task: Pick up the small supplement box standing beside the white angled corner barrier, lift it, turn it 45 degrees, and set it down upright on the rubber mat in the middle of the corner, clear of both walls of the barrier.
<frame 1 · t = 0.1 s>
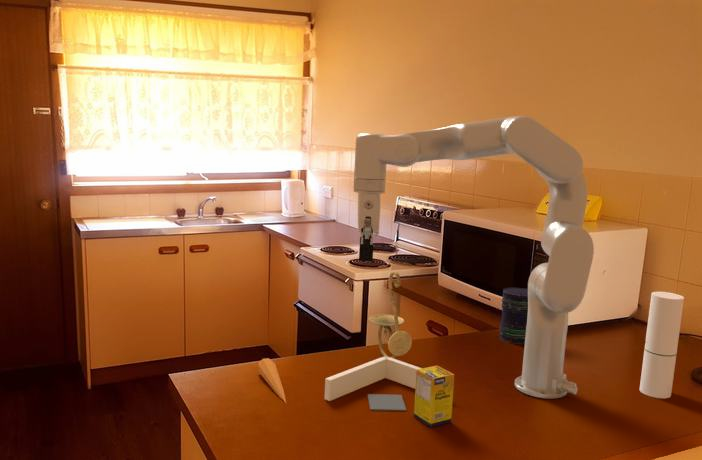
hand: (365, 256, 155), 31 cm above the countertop, tool pointing down, fingers open, 9 cm apart
supplement box: (432, 420, 140), on the countertop
storage jar: (515, 339, 197), on the countertop
cylindrical container: (654, 393, 160), on the countertop
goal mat: (386, 402, 147), on the countertop
carrot: (273, 388, 153), on the countertop
white angled corner barrier: (385, 397, 150), on the countertop
wall sconce: (387, 360, 174), on the countertop
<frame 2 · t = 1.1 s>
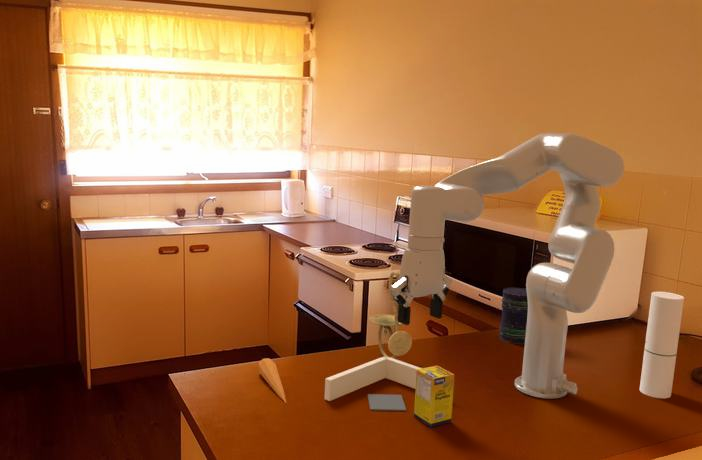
hand: (419, 320, 141), 21 cm above the countertop, tool pointing down, fingers open, 9 cm apart
nothing on the countertop moved.
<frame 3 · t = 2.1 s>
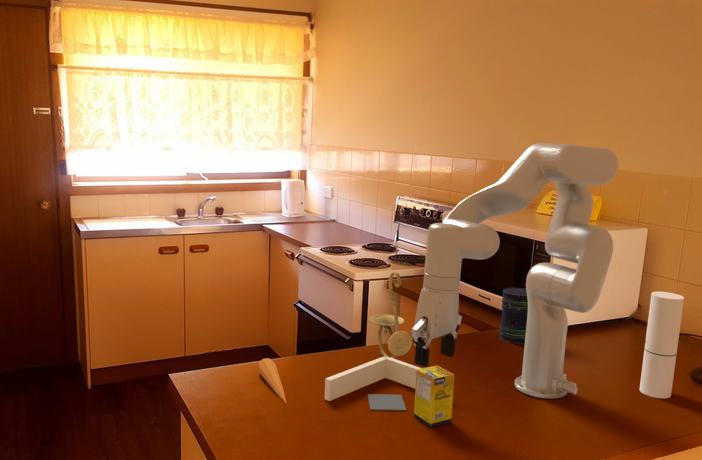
hand: (434, 360, 137), 14 cm above the countertop, tool pointing down, fingers open, 9 cm apart
nothing on the countertop moved.
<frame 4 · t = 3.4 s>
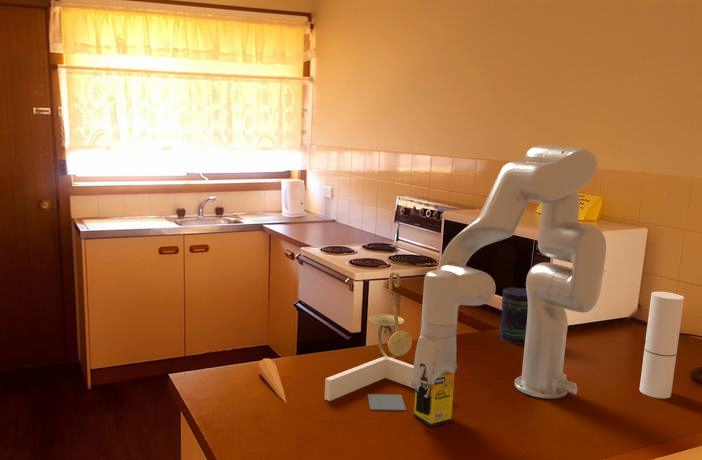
hand: (433, 406, 139), 3 cm above the countertop, tool pointing down, fingers closed on supplement box, 7 cm apart
supplement box: (432, 420, 140), on the countertop, touching gripper
everything else where it was.
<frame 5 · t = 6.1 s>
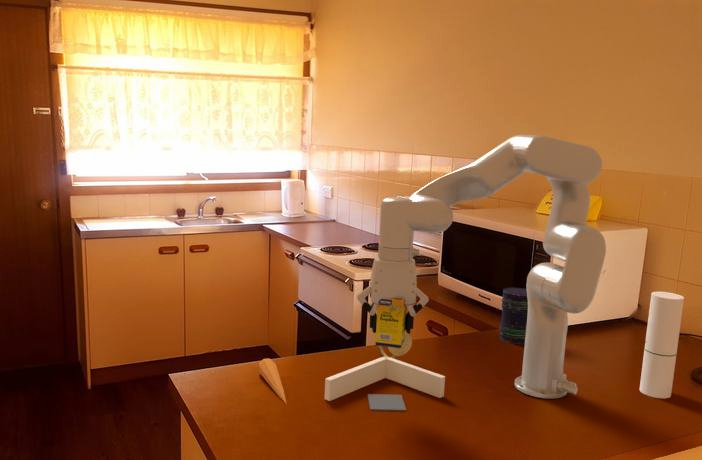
hand: (390, 330, 144), 17 cm above the countertop, tool pointing down, fingers closed on supplement box, 7 cm apart
supplement box: (390, 343, 145), point 14 cm above the countertop, touching gripper
everything else where it was.
when the fingers open (4 cm above the countertop, at t = 9.0 s): supplement box stays where it is, resting on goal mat.
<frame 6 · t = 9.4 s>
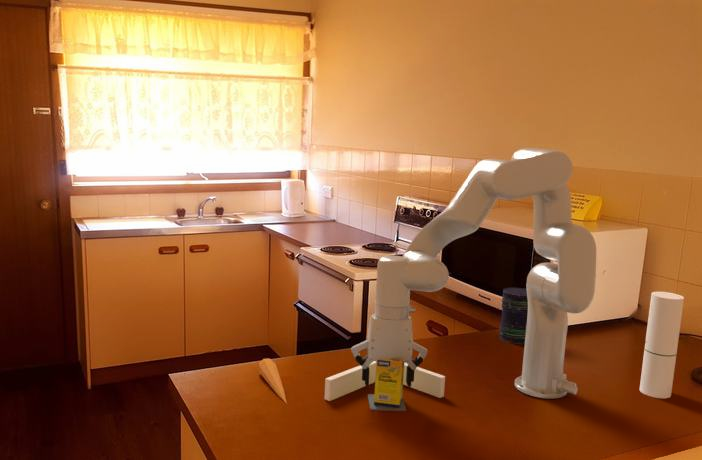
hand: (387, 383, 146), 5 cm above the countertop, tool pointing down, fingers open, 9 cm apart
supplement box: (388, 402, 147), resting on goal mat
everything else where it was.
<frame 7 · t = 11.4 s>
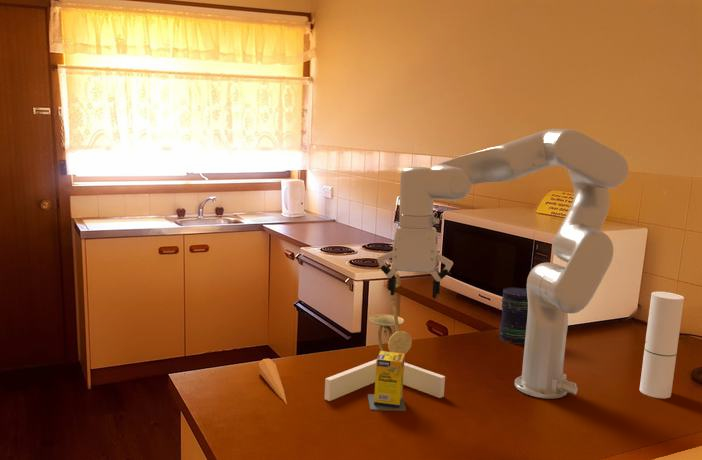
hand: (413, 295, 148), 24 cm above the countertop, tool pointing down, fingers open, 9 cm apart
nothing on the countertop moved.
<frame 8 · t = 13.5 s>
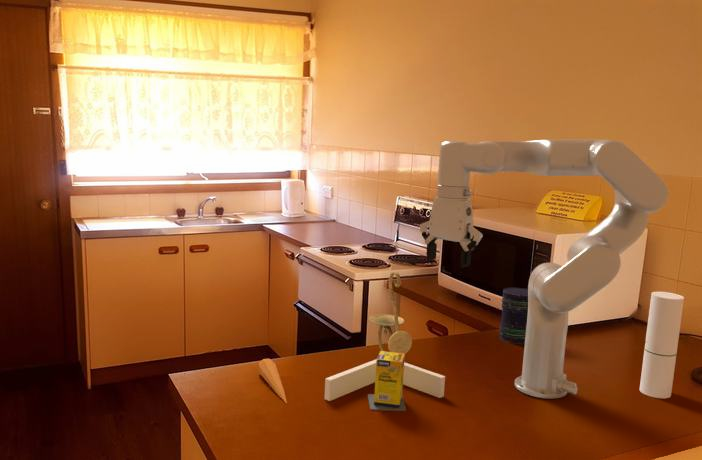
hand: (447, 263, 156), 30 cm above the countertop, tool pointing down, fingers open, 9 cm apart
nothing on the countertop moved.
at the end: supplement box inside the target area (0.4 cm from its centre), resting on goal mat; supplement box touching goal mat; supplement box tilted 0° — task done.
